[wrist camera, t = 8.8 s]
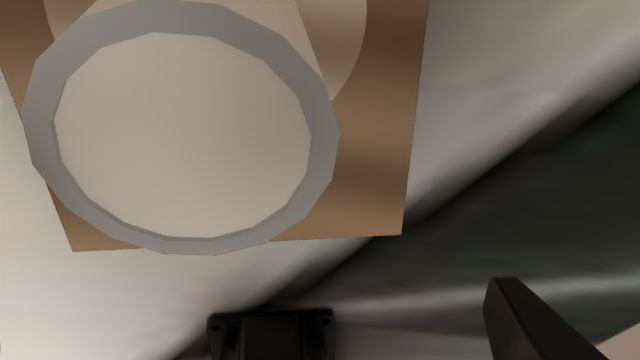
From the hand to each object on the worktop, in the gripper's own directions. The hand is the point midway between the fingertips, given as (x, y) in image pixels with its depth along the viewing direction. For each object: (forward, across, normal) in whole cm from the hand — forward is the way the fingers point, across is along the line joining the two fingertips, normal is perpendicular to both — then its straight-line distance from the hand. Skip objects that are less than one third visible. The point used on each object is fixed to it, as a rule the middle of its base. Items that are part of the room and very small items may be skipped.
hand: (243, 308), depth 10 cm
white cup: (+11, +1, -1) cm, 11 cm away
